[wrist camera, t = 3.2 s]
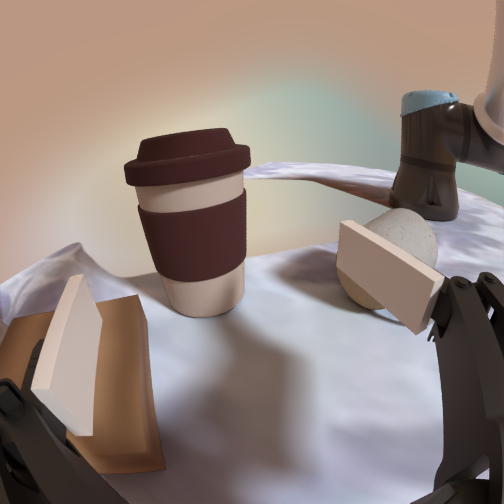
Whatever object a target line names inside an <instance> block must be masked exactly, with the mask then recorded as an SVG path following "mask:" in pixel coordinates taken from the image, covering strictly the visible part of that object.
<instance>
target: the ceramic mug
mask: <svg viewBox="0 0 504 504" xmlns="http://www.w3.org/2000/svg"><path fill="white" fill-rule="evenodd" d="M363 227H365V228H366V229H368V230H370V231H372V232H373V233H375V234H377V235H379V236H380V237H382V238H384V239H385V240H387V241H389V242H391V243H392V244H394V245H396V246H397V247H399V248H401V249H402V250H404V251H405V252H407V253H409V254H410V255H412V256H414V257H416V258H418V259H419V260H421V261H422V262H424V263H426V264H427V265H428V266H430V267H432V268H434V266H435V264H436V261H437V254H438V248H437V242H436V238H435V235H434V233H433V231H432V229H431V227H430V226H429V224H428V223H427V222H426V221H425V220H424V219H423V218H422V217H421V216H420V215H419V214H417V213H416V212H414V211H411V210H409V209H404V208H396V209H392V210H389V211H387V212H386V213H384V214H383V215H381V216H379V217H377V218H376V219H374V220H372V221H371V222H369V223H367V224H366V225H364V226H363ZM337 254H338V251H337ZM336 264H337V256H336ZM336 270H337V274H338V278H339V281H340V283H341V285H342V287H343V288H344V290H345V292H346V293H347V294H348V295H349V297H350V298H352V299H353V300H354V301H355V302H356V303H358V304H359V305H361V306H363V307H366V308H369V309H373V310H380V309H384V308H385V307H384V306H382V305H381V304H380V303H379V302H378V301H377V300H376V299H374V298H373V297H372V296H371V295H370V294H369V293H367V292H366V291H365V290H364V289H363V288H361V287H360V286H359V285H358V284H357V283H356V282H354V281H353V280H352V279H351V278H350V277H348V276H347V275H346V274H345V273H344V272H342V271H341V270H340V269H339V268H338V267H336ZM433 322H434V320H433V319H431V318H430V321H429V323H428V325H430V324H431V323H433Z"/></svg>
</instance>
